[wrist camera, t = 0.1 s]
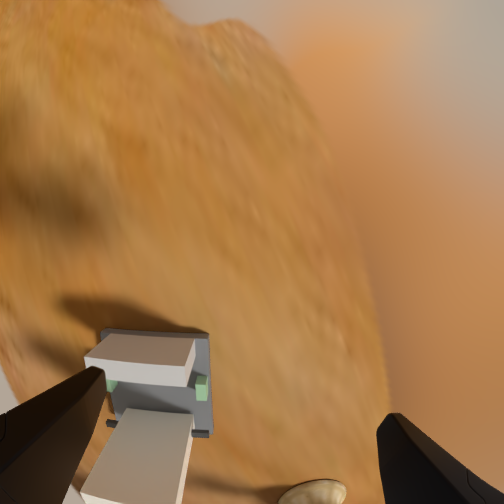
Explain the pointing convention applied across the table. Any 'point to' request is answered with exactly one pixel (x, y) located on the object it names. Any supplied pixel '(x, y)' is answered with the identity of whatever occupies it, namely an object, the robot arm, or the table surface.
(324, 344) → the table surface
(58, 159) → the table surface
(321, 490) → the hand bell
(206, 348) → the gauge base
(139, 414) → the cream block
